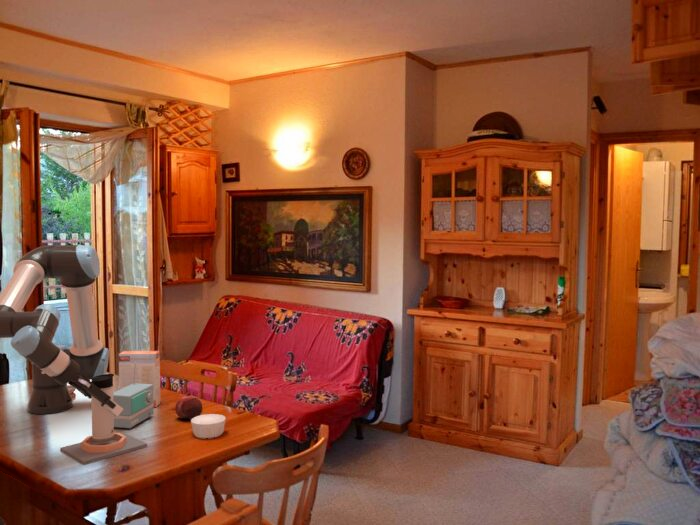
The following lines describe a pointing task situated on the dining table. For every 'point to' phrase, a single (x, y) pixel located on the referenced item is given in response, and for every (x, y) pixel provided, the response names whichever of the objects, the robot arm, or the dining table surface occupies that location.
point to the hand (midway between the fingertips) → (114, 409)
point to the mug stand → (102, 448)
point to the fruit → (188, 407)
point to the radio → (133, 404)
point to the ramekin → (208, 425)
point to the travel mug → (102, 411)
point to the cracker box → (140, 370)
